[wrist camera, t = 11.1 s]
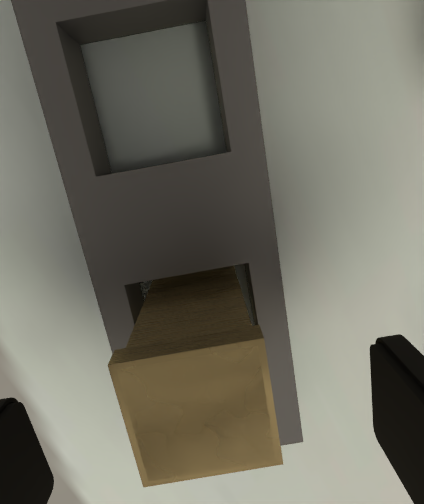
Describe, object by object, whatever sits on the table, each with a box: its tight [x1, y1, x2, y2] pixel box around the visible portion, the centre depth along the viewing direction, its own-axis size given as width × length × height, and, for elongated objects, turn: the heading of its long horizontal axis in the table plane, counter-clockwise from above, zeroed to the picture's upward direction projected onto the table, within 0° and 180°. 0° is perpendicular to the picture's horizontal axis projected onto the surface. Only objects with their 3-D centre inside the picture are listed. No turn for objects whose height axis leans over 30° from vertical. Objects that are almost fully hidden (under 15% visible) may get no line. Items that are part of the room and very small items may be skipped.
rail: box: [11, 0, 303, 446], centre depth 15 cm, size 8×24×2 cm, turn 10°
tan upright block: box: [108, 266, 283, 487], centre depth 14 cm, size 4×4×8 cm
